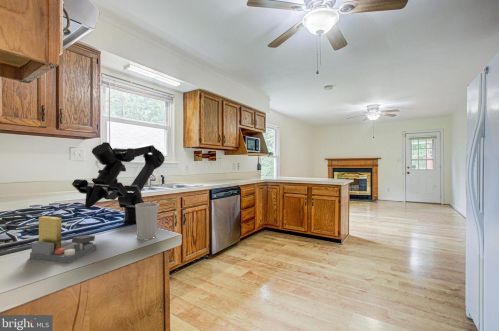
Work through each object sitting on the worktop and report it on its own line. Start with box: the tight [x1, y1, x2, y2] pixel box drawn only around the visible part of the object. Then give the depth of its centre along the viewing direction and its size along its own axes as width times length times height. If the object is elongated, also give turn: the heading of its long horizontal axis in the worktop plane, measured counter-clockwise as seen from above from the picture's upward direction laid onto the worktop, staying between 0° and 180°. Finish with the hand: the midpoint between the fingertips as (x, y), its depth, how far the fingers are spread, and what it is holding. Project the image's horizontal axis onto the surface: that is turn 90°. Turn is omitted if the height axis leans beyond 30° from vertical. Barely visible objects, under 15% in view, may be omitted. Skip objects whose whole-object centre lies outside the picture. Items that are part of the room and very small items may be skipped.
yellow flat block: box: [38, 215, 62, 251], centre depth 71 cm, size 2×6×10 cm, turn 81°
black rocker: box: [71, 234, 96, 243], centre depth 75 cm, size 5×3×1 cm, turn 171°
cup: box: [135, 202, 160, 241], centre depth 90 cm, size 8×8×12 cm
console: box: [29, 240, 97, 264], centre depth 73 cm, size 10×12×5 cm
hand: (86, 207), depth 84 cm, fingers closed
